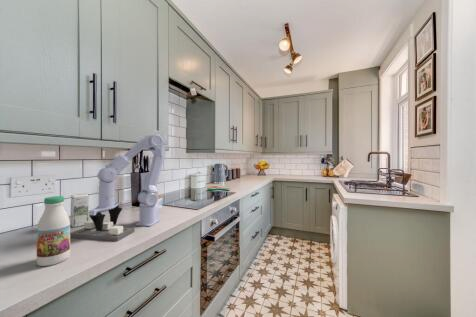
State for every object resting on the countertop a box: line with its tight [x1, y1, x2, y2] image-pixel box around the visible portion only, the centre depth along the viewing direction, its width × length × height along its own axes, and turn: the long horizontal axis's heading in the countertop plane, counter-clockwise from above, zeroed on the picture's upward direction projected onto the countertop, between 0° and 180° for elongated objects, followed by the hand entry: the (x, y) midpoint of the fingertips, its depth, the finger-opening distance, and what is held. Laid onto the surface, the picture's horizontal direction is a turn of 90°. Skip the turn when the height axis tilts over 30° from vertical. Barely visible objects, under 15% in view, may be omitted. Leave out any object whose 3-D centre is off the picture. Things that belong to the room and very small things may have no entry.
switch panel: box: [70, 227, 136, 242], centre depth 84 cm, size 10×22×2 cm, turn 81°
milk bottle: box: [36, 195, 71, 267], centre depth 63 cm, size 8×8×20 cm
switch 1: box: [83, 219, 95, 229], centre depth 87 cm, size 3×4×2 cm
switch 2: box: [102, 220, 114, 230], centre depth 86 cm, size 3×4×2 cm
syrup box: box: [70, 193, 90, 229], centre depth 95 cm, size 6×6×14 cm
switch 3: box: [110, 225, 124, 235], centre depth 81 cm, size 3×4×2 cm
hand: (106, 227), depth 86 cm, fingers open, 7 cm apart
